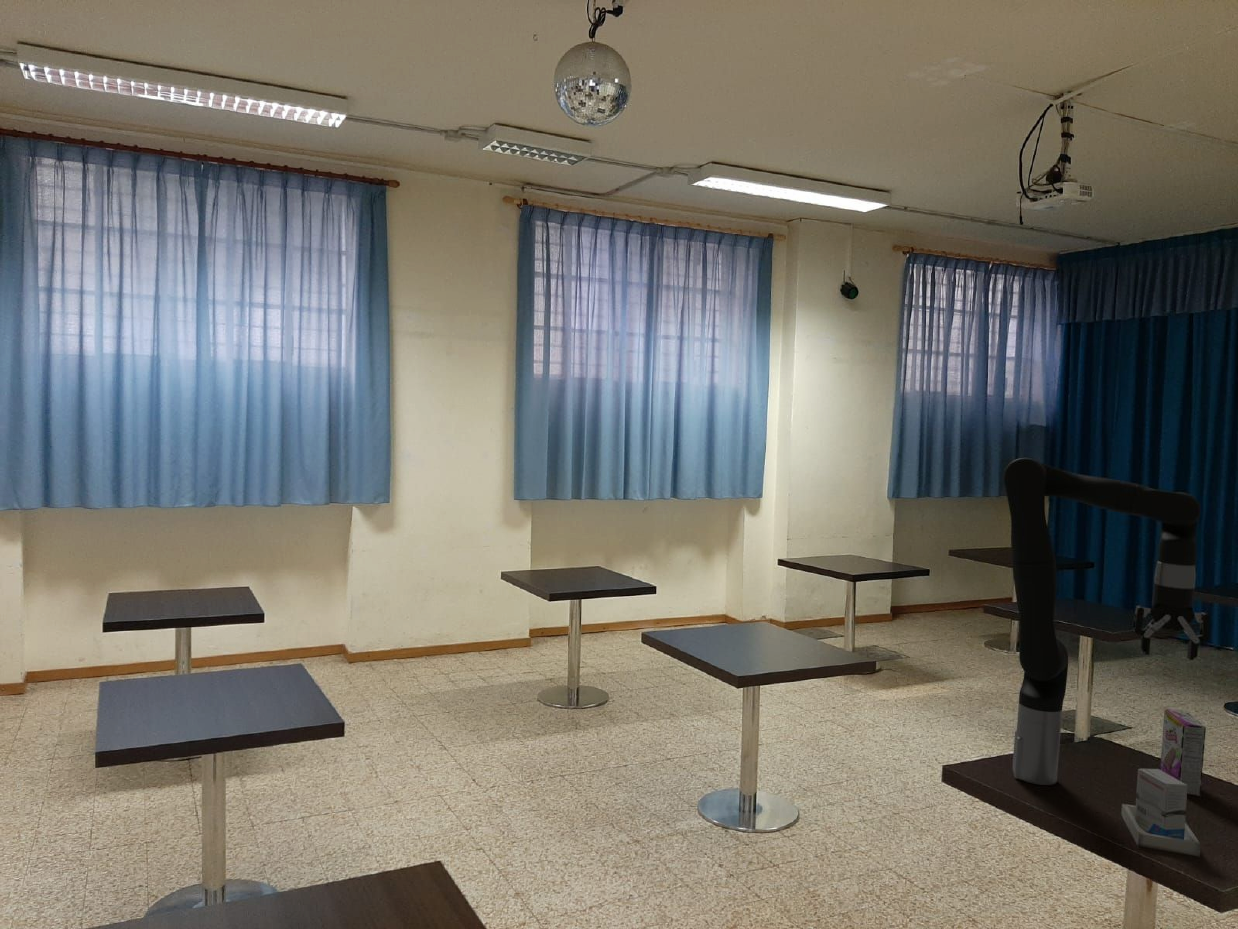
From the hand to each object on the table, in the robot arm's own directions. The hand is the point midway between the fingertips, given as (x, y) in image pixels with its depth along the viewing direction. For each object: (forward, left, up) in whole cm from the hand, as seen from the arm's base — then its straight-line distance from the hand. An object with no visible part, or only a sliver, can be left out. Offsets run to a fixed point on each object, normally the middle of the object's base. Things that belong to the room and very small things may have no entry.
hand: (1168, 656), depth 193 cm
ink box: (-4, -18, -33) cm, 37 cm away
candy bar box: (+8, +14, -33) cm, 37 cm away
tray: (-4, -18, -33) cm, 38 cm away
